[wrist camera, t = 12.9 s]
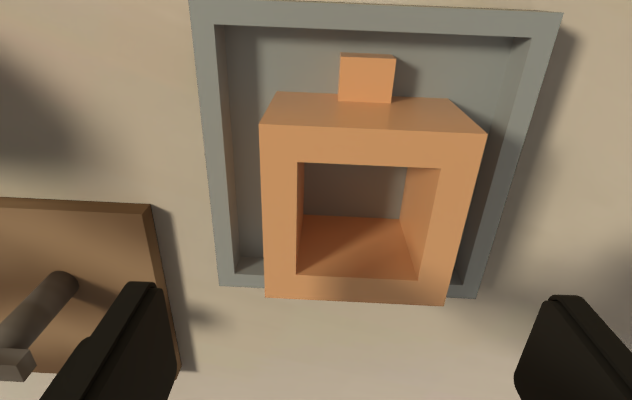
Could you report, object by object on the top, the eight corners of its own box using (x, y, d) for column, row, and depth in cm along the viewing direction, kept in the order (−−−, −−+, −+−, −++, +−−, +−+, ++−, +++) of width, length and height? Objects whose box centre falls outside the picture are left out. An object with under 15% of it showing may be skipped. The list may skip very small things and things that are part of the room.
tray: (463, 272, 21) (475, 298, 19) (228, 261, 21) (219, 285, 19) (535, 10, 15) (563, 12, 13) (205, -4, 15) (188, -3, 13)
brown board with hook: (181, 366, 25) (136, 477, 19) (28, 358, 25) (-61, 466, 19) (150, 204, 19) (73, 294, 13) (-48, 194, 19) (-207, 279, 14)
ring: (420, 240, 19) (443, 306, 15) (278, 234, 19) (265, 297, 15) (456, 57, 15) (501, 80, 11) (276, 49, 15) (256, 69, 11)
